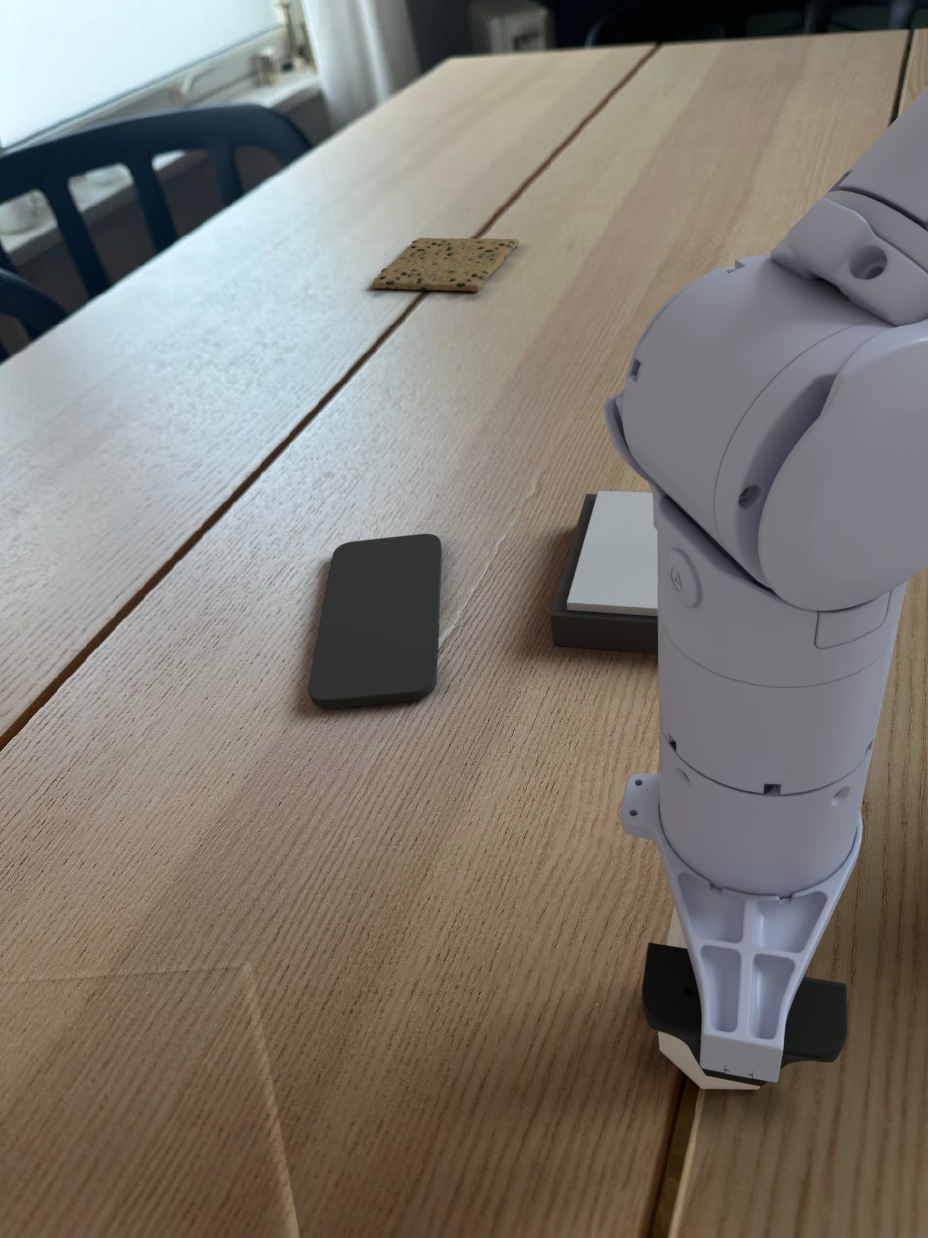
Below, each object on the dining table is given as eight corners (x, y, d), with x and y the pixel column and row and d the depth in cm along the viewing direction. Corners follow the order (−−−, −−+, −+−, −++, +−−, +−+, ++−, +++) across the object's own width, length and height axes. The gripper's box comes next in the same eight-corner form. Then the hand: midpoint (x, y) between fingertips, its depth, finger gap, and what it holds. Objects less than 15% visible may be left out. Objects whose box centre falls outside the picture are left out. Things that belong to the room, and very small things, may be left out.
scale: (809, 532, 61) (814, 493, 60) (807, 666, 53) (812, 625, 51) (587, 522, 65) (585, 485, 63) (553, 645, 57) (549, 607, 55)
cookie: (521, 242, 104) (520, 233, 103) (479, 292, 96) (478, 282, 95) (419, 241, 108) (417, 232, 107) (371, 288, 100) (369, 279, 99)
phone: (442, 531, 66) (435, 690, 54) (443, 540, 66) (437, 700, 55) (333, 542, 66) (304, 702, 55) (336, 552, 67) (308, 712, 55)
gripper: (649, 544, 33) (653, 796, 42) (573, 923, 23) (600, 1149, 32) (874, 555, 31) (828, 817, 40) (900, 976, 21) (830, 1201, 30)
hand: (740, 967), depth 36 cm, fingers open, 7 cm apart
